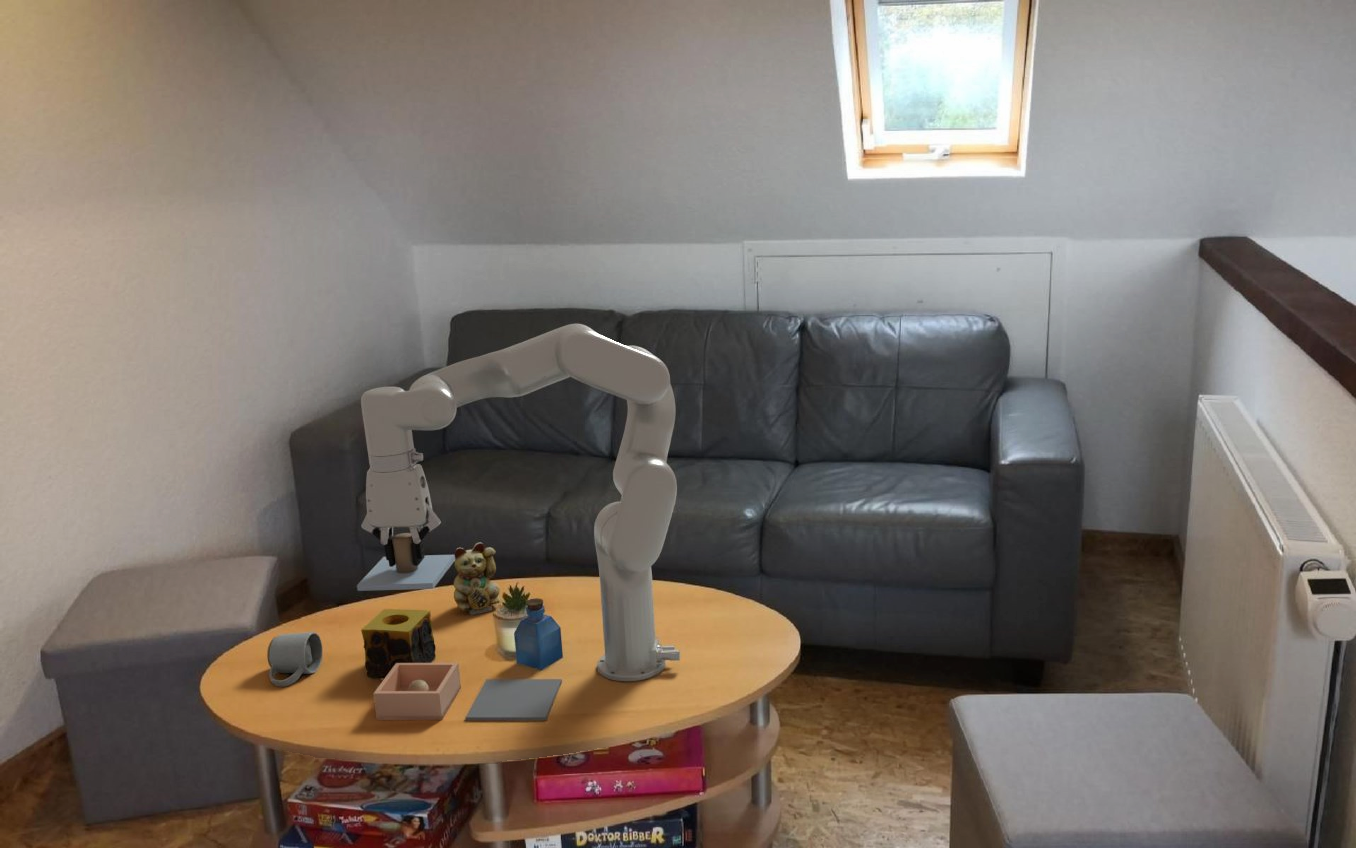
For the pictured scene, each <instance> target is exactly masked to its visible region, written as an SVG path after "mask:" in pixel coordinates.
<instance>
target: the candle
mask: <svg viewBox="0 0 1356 848" xmlns="http://www.w3.org/2000/svg"><path fill="white" fill-rule="evenodd" d="M431 615H432V614H431V610H427V609H399V608H398V609H397V608H396V609H394V608H385V609H383V610H381V611H380V612H379V613H378V614H377V615H376V616H375V617H374V618H373V619H372V620H371V621H369V622H368V623H367V624H366V625H365V626H364V627H362V628H361V635H362V639H363V649H364V657H365V658H364V659H365V660H364V669H365V670H366V677H367V678H368V679H377V680H384V679H385V677H386V676H387V675H388V673H389V672H390V671H391V669H392V668H393V667H394V665H395V664H396V663H433V662H434V661H435V659H436V655H437V654H436V647H437V646H436V644H435V637H434V633H433V625H432V618H431V617H432V616H431Z"/></svg>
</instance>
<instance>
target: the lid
mask: <svg viewBox="0 0 1356 848" xmlns="http://www.w3.org/2000/svg"><path fill="white" fill-rule="evenodd" d="M392 542H393V549H394V557H395V565H394V566H393V567H390V566H389V560H386V556H382V558H381V559H380V560H379V561H378V562H377V563H376V565H375V566H373V568H372V569H371V570H370V571H369V572H368V573H367V574H366V575H365V576H364V577H363V578H362V579H361V580H360V581H359V582H358V584H357V585H356V589H357V591H358V592H361V591H362V592H363V591H365V592H366V591H367V592H368V591H396V590H397V591H401V590H405V591H406V590H434V589H435V587H436V586H437V585H438V583H439V582H440V581H441V579H442V578H443V577H444V575H445V574H446V573H447V572H448V570H449V569H450V568H451V566H452V565H453V563H455V554H433V555H429V554H428V555H425V557H424V559H423V560H422V562H421V563H420V564H419V565H418V566H414V565H413V559H412V551H411V544H412V543H413V538H412V535H411V532H401V533H398V534H395V535H393V537H392Z"/></svg>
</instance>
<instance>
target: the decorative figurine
mask: <svg viewBox="0 0 1356 848" xmlns="http://www.w3.org/2000/svg"><path fill="white" fill-rule="evenodd" d="M454 555H455V561H454V567H455V570H456V571H457V573H458V574H457V575H456V577H455V578H454V580H453V587H454V591H453V600H454V601H455V603H456V605H457V607H458V608H459V609H460V611H463V612H464V611H466V612H467V611H468V614H469V615H471V616H473V615H479V614H484V613H487V612H491V611H493V606H494V605H497V604H500V602H501V599H500V596H499V594H500V591H501V590H500V588H501V587H500V586H499V585H498V583H496V582H492V581H491V579H492V578H493V577H494V575H495V573H496V572H497V567H496V566H497V565H496V562H495V559H494V557H493V556H495V555H496V550H495V549H494V548H493V547H486V546H485V545H484V543H482V542H476V543H475V544H474V546H473V548H472V549H467V550H465V549H464V548H463V547H457V548H456V549H455V551H454Z"/></svg>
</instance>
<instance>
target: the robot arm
mask: <svg viewBox="0 0 1356 848" xmlns="http://www.w3.org/2000/svg"><path fill="white" fill-rule="evenodd" d="M568 378H573V379H575V380H576V381H579V382H581V383H583V384H586V385H588V386H590V387H592V388H595V389H597V390H600V391H602V392H605V393H607V394H610V395H613V396H615V397H618V398H621V399H623V400H626V405H627V416H626V420H625V421H626V422H625V425H624V432H623V433H622V434H623V435H622V439H621V443H620V446H619V450H618V453H617V457H616V461H615V462H614V467H613V471H612V479H613V483H614V485H615V488H616V489H617V491H618V492H619V493H620V495H621V498H620V501H614V502H611V503H608V504H606V506H604V507H603V508H602V509H601V510H600V511H599V513H598V514H597V516H596V519H595V521H594V527H593V533H594V534H593V535H594V536H593V537H594V545H595V551H596V557H597V558H596V559H597V564H598V565H597V566H598V572H599V573H598V574H599V586H600V600H601V601H600V603H601V604H600V605H601V615H602V618H601V619H602V629H603V630H602V631H603V644H604V645H603V646H604V654H602V656H600V658H599V659H598V661H597V664H596V665H597V666H596V667H597V671H598V673H599V674H600V675H601V676H603V677H604V678H606V679H609V680H612V681H617V682H637V681H638V682H639V681H643V680H646V679H650V678H652V677H655V676H656V675H658V674H659V673H660V674H661V672H662V671H663V670H664V669H665V667H666V661H677V662H678V661H679V662H680V660H681V650H680V649H676V647H675V645H663V644H660V638H659V637H656V626H655V623H656V622H655V608H654V594H653V592H654V589H653V587H654V586H653V574H652V566H653V565H654V564H655V563H656V562H657V560H658V558H659V557H660V554H661V552H662V550H663V547H664V544H665V540H666V536H667V533H668V530H669V526H670V522H671V519H672V515H673V512H674V508H675V504H676V499H677V494H678V493H677V492H678V484H677V483H678V482H677V478H676V475H675V472H674V471H673V469H672V468H671V466H670V465H669V464H668V463H667V461H668V456H669V455H668V453H669V451H670V446H671V441H672V437H673V431H674V428H675V421H676V409H677V408H676V400H675V395H674V391H673V390H674V389H673V387H672V384H671V375H670V372H669V369H668V367H667V365H666V364H665V363H664V361H662V360H661V359H660V358H659V357H657V356H656V355H654V354H653V353H651V352H650V351H648V349H645V348H643V347H641V346H637V345H624V344H622V343H620V342H617V341H614V340H612V339H610V338H608V337H606V336H604V335H602V334H599V333H598V332H597V331H595V330H594V329H592V328H591V327H589V326H587V325H585V324H582V323H570V324H566V325H563V326H561V327H558V328H555V329H552V330H550V331H547V332H545V333H542V334H540V335H537V336H535V337H532V338H529V339H527V340H525V341H522V342H519V343H517V344H516V343H515V344H513V345H511V346H508V347H506V348H502V349H500V350H496V351H493V352H492V351H491V352H489V353H486V354H482V355H480V356H479V355H478V356H475V357H472V358H469V359H464V360H461V361H458V362H455V363H453V364H452V363H451V364H450V365H448V366H444V367H442V368H439V369H437V370H433V371H431V372H429V373H426V374H425V375H422V376H420V377H419V378H418V379H416V380H415V381H414V382H413V383H412V384H411V385H410V387H409V389H408V390H404V389H403V388H402V387H398V386H381V387H380V386H379V387H375V388H372V389H368V390H366V391H364V393H363V394H362V395H361V399H360V404H361V414H362V420H363V426H364V435H365V442H366V448H367V455H368V463H369V469H367V472H366V479H365V481H366V483H365V499H366V502H365V503H366V514H365V517H364V520H363V521H362V523H361V525H360V526H361V528H362V529H363V530H365V532H368V533H370V534H372V535H373V536H374V537H375V538H377V540H379V541H380V544H381V545H383V547H384V552H385V553H384V554H385V557H386V560H389V566H390V567H393V566H394V565H395V557H394V549H393V542H392V537H393V536H394V528H409V530H410V532H409V533H411V535H412V538H413V543H412V544H411V551H412V559H413V565H414V566H418V565H419V564H420V563H421V562H422V560H423V559H424V557H425V548H424V547H425V546H424V538H425V537H426V536H427V535H428V534H429V532H432V531H433V530H434V529H436V528H437V527H439V525H440V524H441V523H442V520H441V519H440V518H439V517H438V515H437V514H436V513H435V512H434V510H433V504H432V498H431V494H430V491H429V485H428V481H427V479H426V475H425V472H424V469H423V466H422V465H421V464H420V463H418V462H422V461H424V453H422V452H418V451H416V448H415V446H414V439H413V432H412V431H436V430H442V429H444V428H446V427H447V426H449V425H450V424H451V423H452V422H453V421H454V419H455V417H456V414H457V408H459V407H462V406H464V405H467V404H469V403H472V402H476V401H479V400H483V399H488V398H497V397H498V398H515V397H516V398H519V397H523V396H525V395H529V394H530V393H532V392H535V391H538V390H540V389H542V388H546V387H547V386H550V385H553V384H555V383H557V382H560V381H563V380H566V379H568ZM426 521H428V523H427V524H425V523H426ZM424 524H425V525H424Z"/></svg>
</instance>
